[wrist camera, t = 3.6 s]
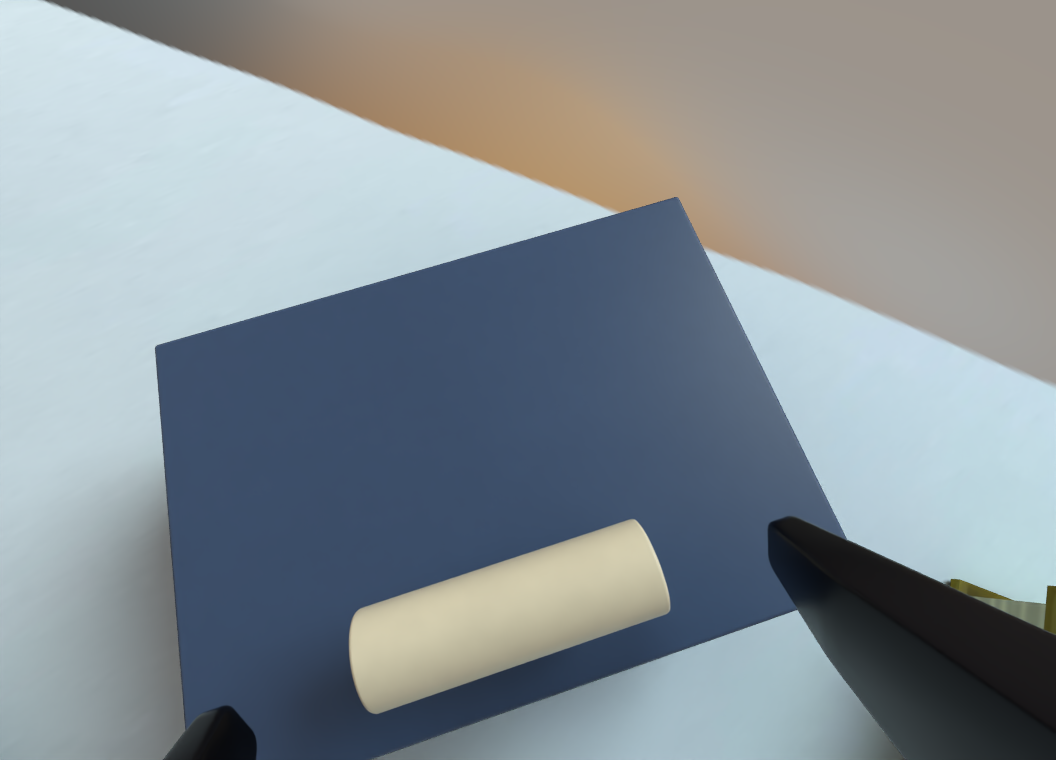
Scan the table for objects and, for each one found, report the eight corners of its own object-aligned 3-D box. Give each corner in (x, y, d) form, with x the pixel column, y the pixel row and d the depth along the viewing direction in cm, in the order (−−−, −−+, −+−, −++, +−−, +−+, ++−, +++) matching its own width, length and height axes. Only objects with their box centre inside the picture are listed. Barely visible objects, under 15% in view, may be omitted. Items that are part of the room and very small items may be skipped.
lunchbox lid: (850, 582, 12) (1008, 598, 8) (215, 804, 11) (21, 955, 7) (671, 212, 15) (717, 90, 11) (174, 355, 14) (27, 278, 10)
